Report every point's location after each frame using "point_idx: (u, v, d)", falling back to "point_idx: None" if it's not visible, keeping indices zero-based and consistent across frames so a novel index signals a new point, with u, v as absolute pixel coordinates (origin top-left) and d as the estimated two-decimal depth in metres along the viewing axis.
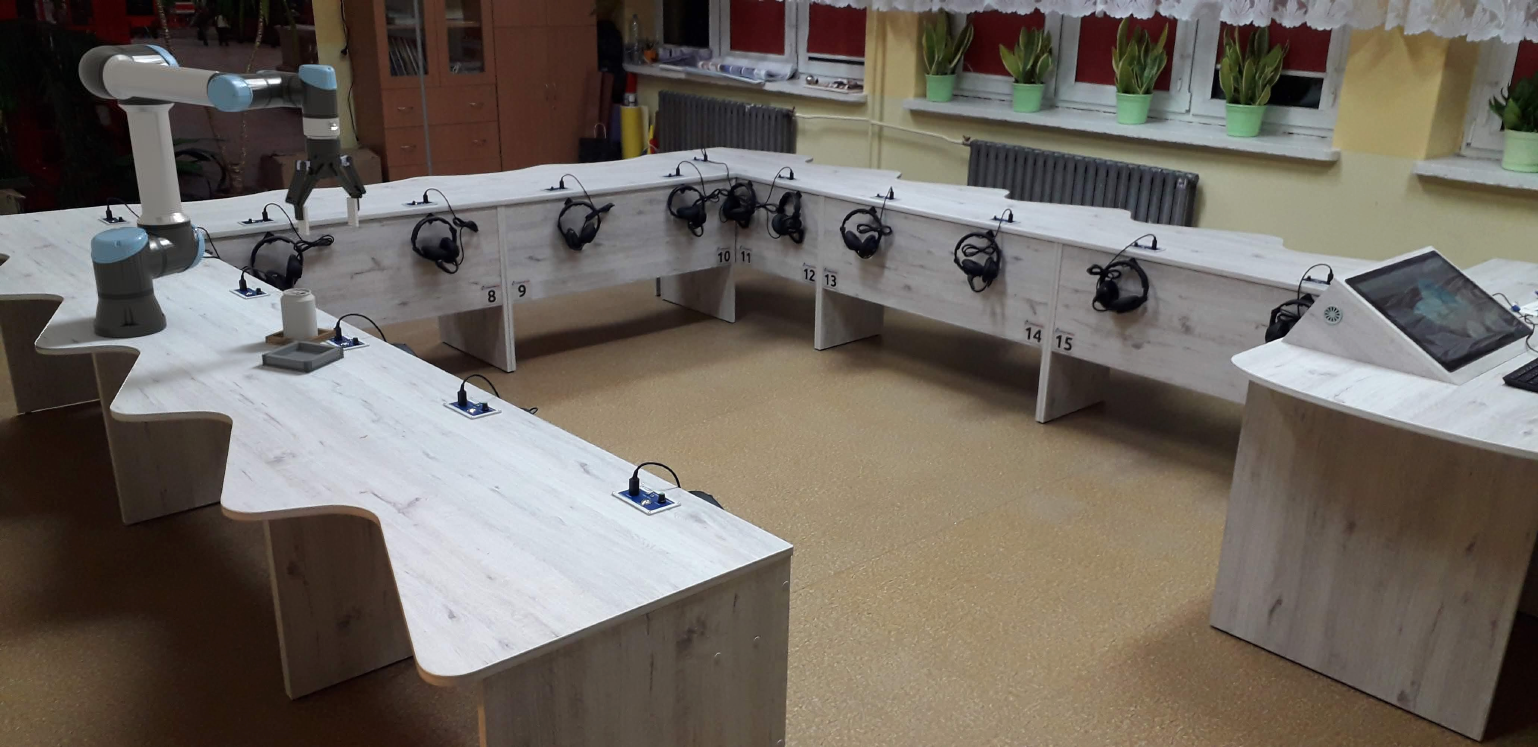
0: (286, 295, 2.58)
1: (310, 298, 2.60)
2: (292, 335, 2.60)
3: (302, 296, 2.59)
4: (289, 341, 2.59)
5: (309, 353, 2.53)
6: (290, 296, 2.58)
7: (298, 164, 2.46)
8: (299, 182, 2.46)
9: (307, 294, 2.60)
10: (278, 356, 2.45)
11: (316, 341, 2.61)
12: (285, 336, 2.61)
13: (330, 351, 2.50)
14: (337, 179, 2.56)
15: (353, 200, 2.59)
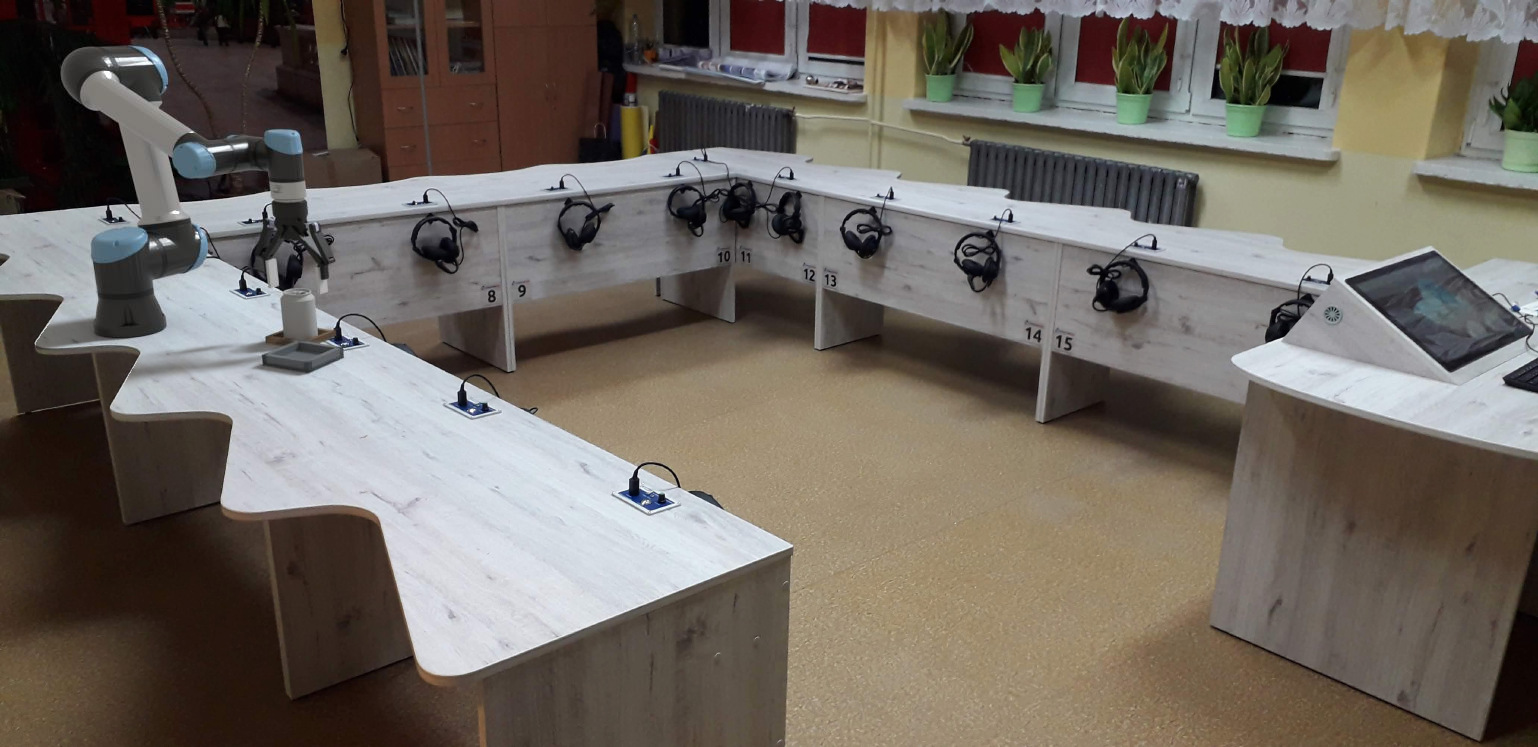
0: (286, 295, 2.58)
1: (310, 298, 2.60)
2: (292, 335, 2.60)
3: (302, 296, 2.59)
4: (289, 341, 2.59)
5: (309, 353, 2.53)
6: (290, 296, 2.58)
7: None
8: (260, 237, 2.58)
9: (307, 294, 2.60)
10: (278, 356, 2.45)
11: (316, 341, 2.61)
12: (285, 336, 2.61)
13: (330, 351, 2.50)
14: None
15: None
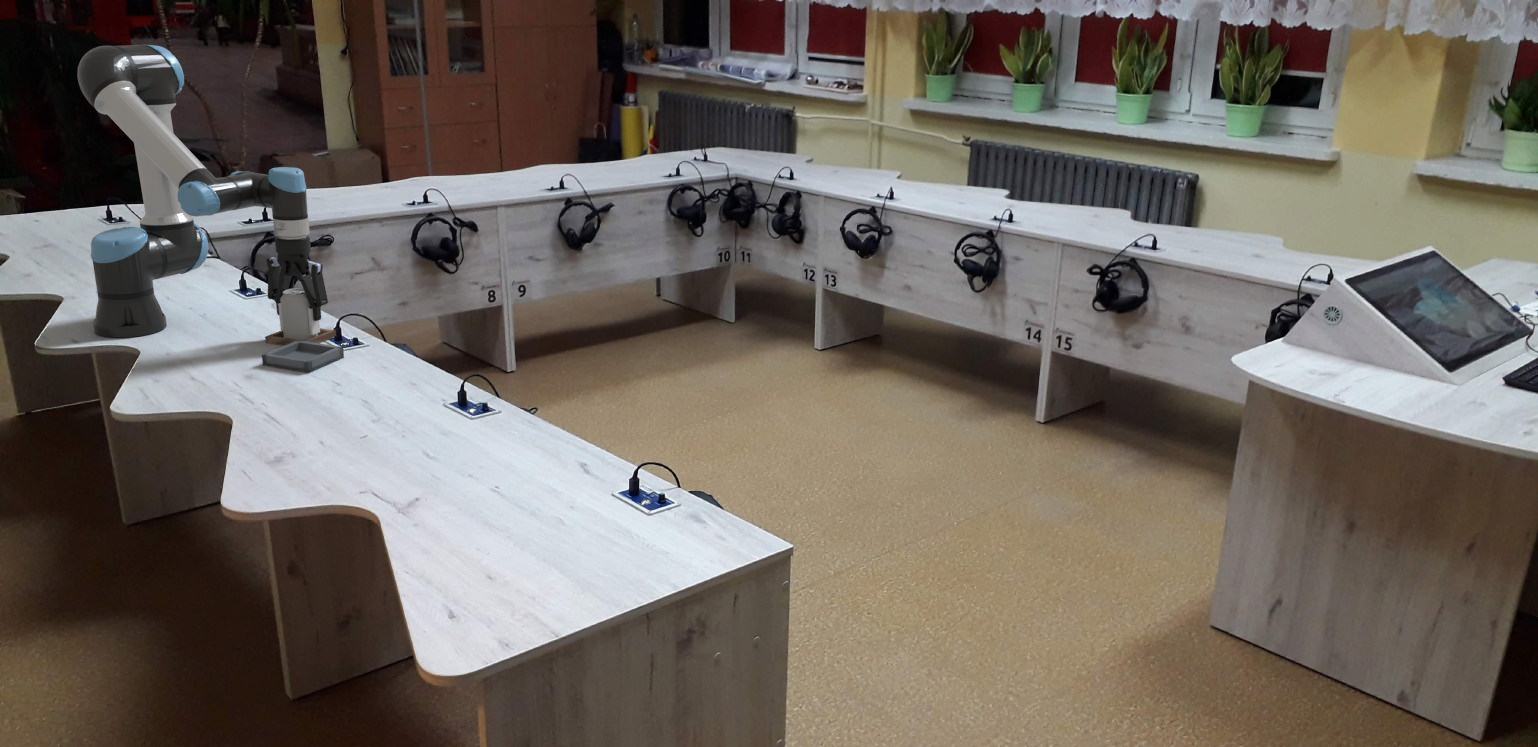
0: (286, 295, 2.58)
1: None
2: (292, 335, 2.60)
3: (302, 296, 2.59)
4: (289, 341, 2.59)
5: (309, 353, 2.53)
6: (290, 296, 2.58)
7: None
8: (269, 278, 2.60)
9: None
10: (278, 356, 2.45)
11: (316, 341, 2.61)
12: (285, 336, 2.61)
13: (330, 351, 2.50)
14: None
15: None
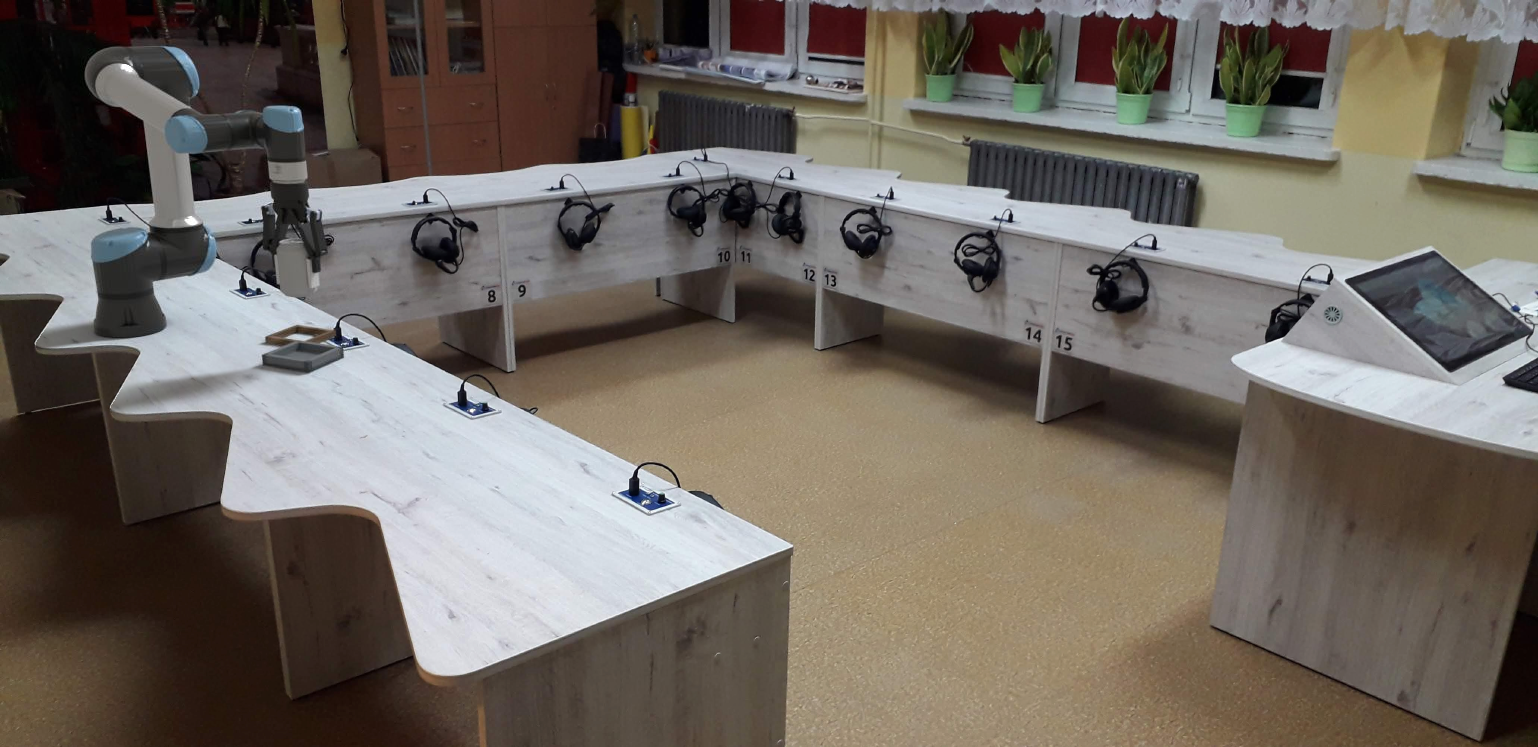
0: (283, 245, 2.40)
1: None
2: (290, 288, 2.42)
3: (300, 246, 2.40)
4: (289, 341, 2.59)
5: (309, 353, 2.53)
6: (287, 246, 2.39)
7: None
8: (264, 227, 2.42)
9: None
10: (278, 356, 2.45)
11: (316, 341, 2.61)
12: (282, 290, 2.43)
13: (330, 351, 2.50)
14: None
15: None
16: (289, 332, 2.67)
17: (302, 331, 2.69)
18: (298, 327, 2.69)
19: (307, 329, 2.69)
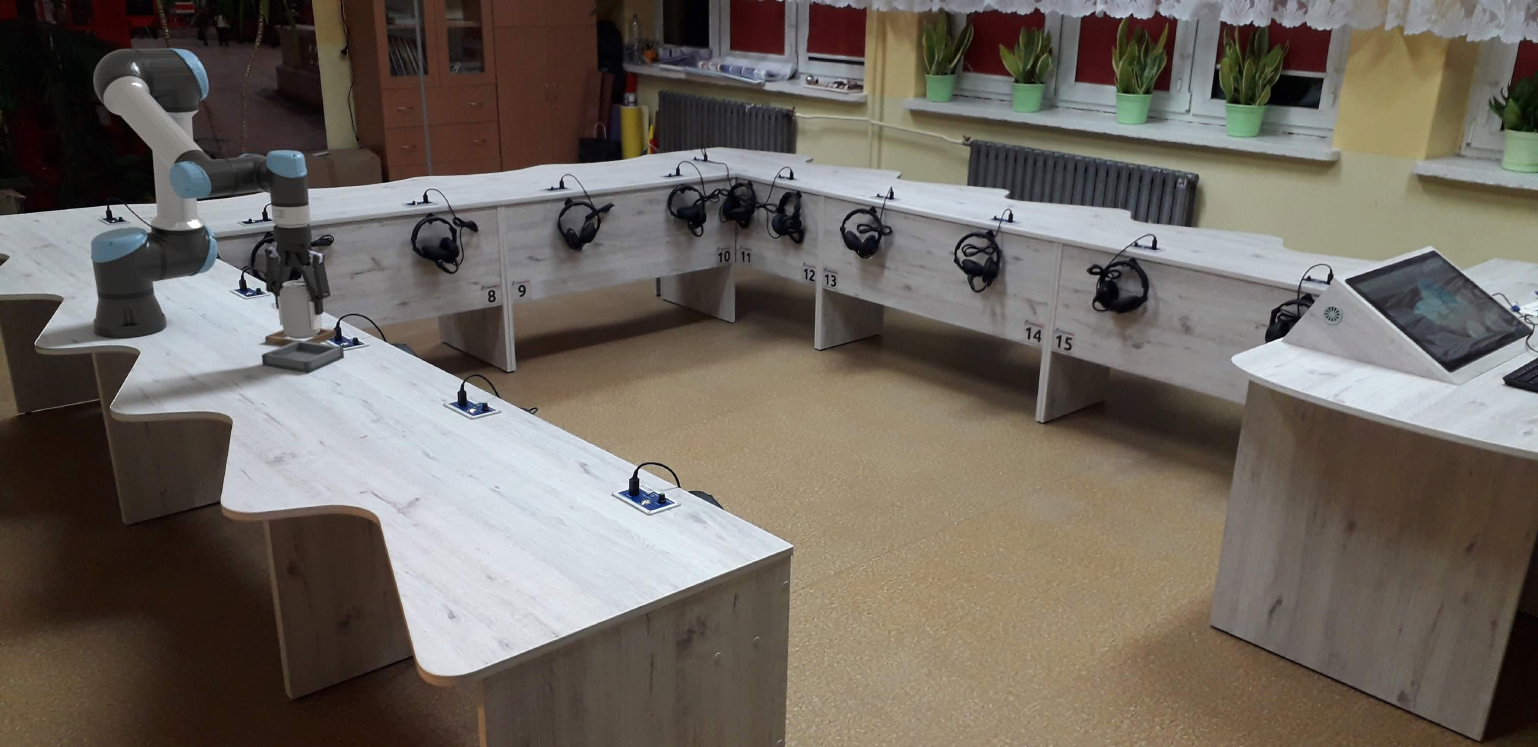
0: (286, 287, 2.42)
1: None
2: (292, 330, 2.44)
3: (303, 288, 2.42)
4: (289, 341, 2.59)
5: (309, 353, 2.53)
6: (290, 288, 2.41)
7: None
8: (267, 269, 2.44)
9: None
10: (278, 356, 2.45)
11: (316, 341, 2.61)
12: (285, 331, 2.45)
13: (330, 351, 2.50)
14: None
15: None
16: None
17: None
18: None
19: None
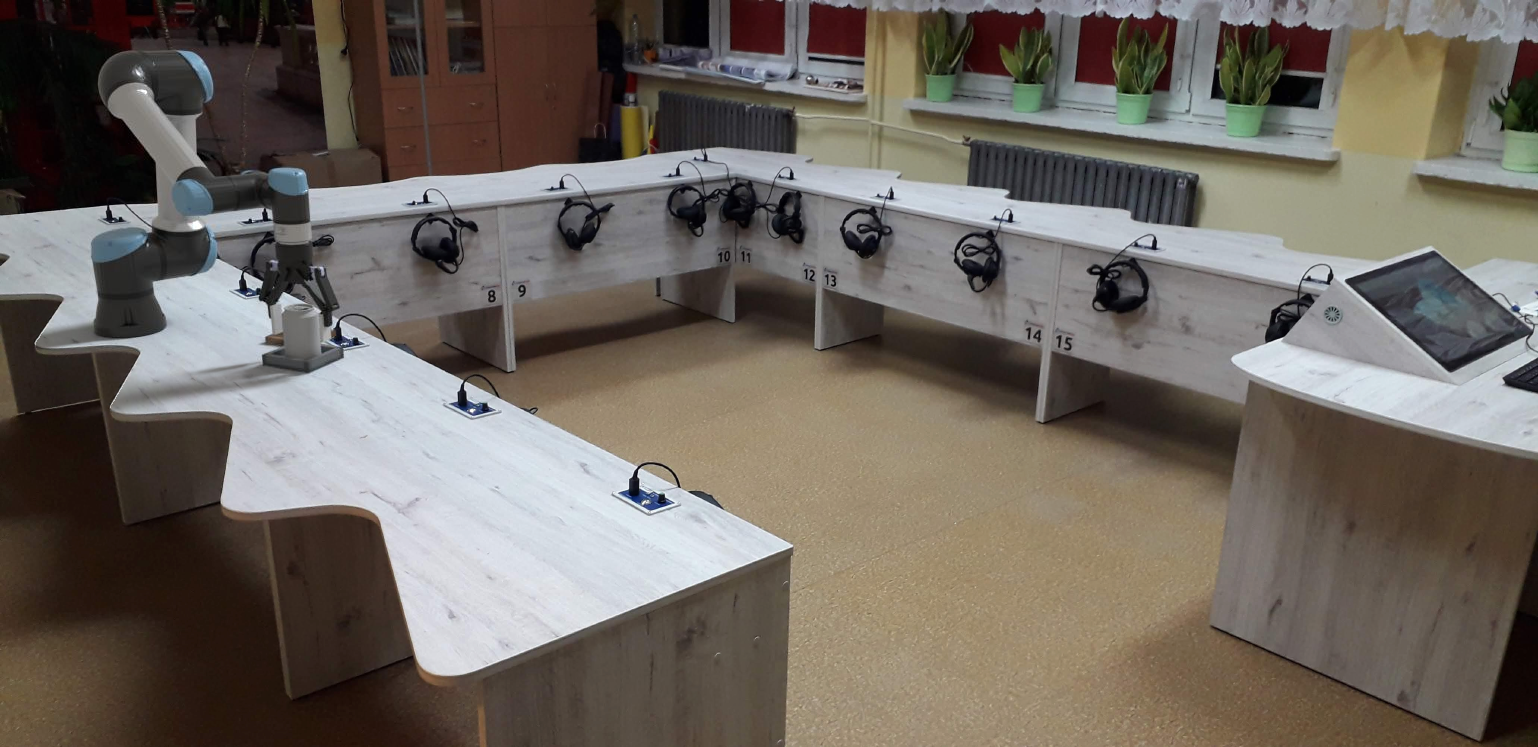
0: (288, 311, 2.43)
1: (313, 314, 2.45)
2: (294, 353, 2.45)
3: (305, 312, 2.44)
4: None
5: None
6: (292, 312, 2.43)
7: None
8: (264, 281, 2.45)
9: (310, 310, 2.45)
10: (278, 356, 2.45)
11: None
12: (286, 354, 2.47)
13: (330, 351, 2.50)
14: None
15: None
16: None
17: None
18: None
19: None
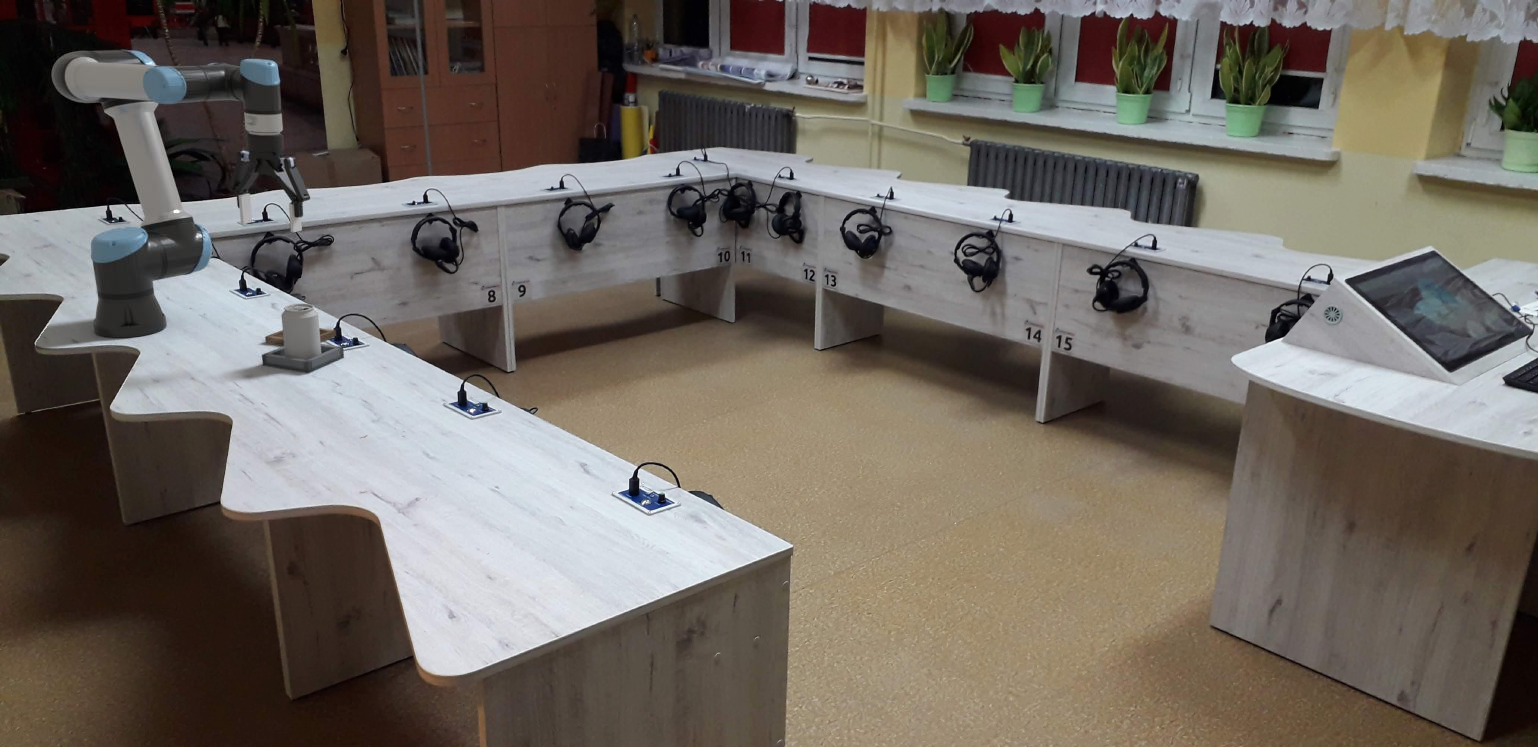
0: (288, 311, 2.43)
1: (313, 314, 2.45)
2: (294, 353, 2.45)
3: (304, 312, 2.44)
4: None
5: None
6: (292, 312, 2.43)
7: None
8: (234, 170, 2.50)
9: (310, 310, 2.45)
10: (278, 356, 2.45)
11: None
12: (286, 354, 2.47)
13: (330, 351, 2.50)
14: None
15: None
16: None
17: None
18: None
19: None
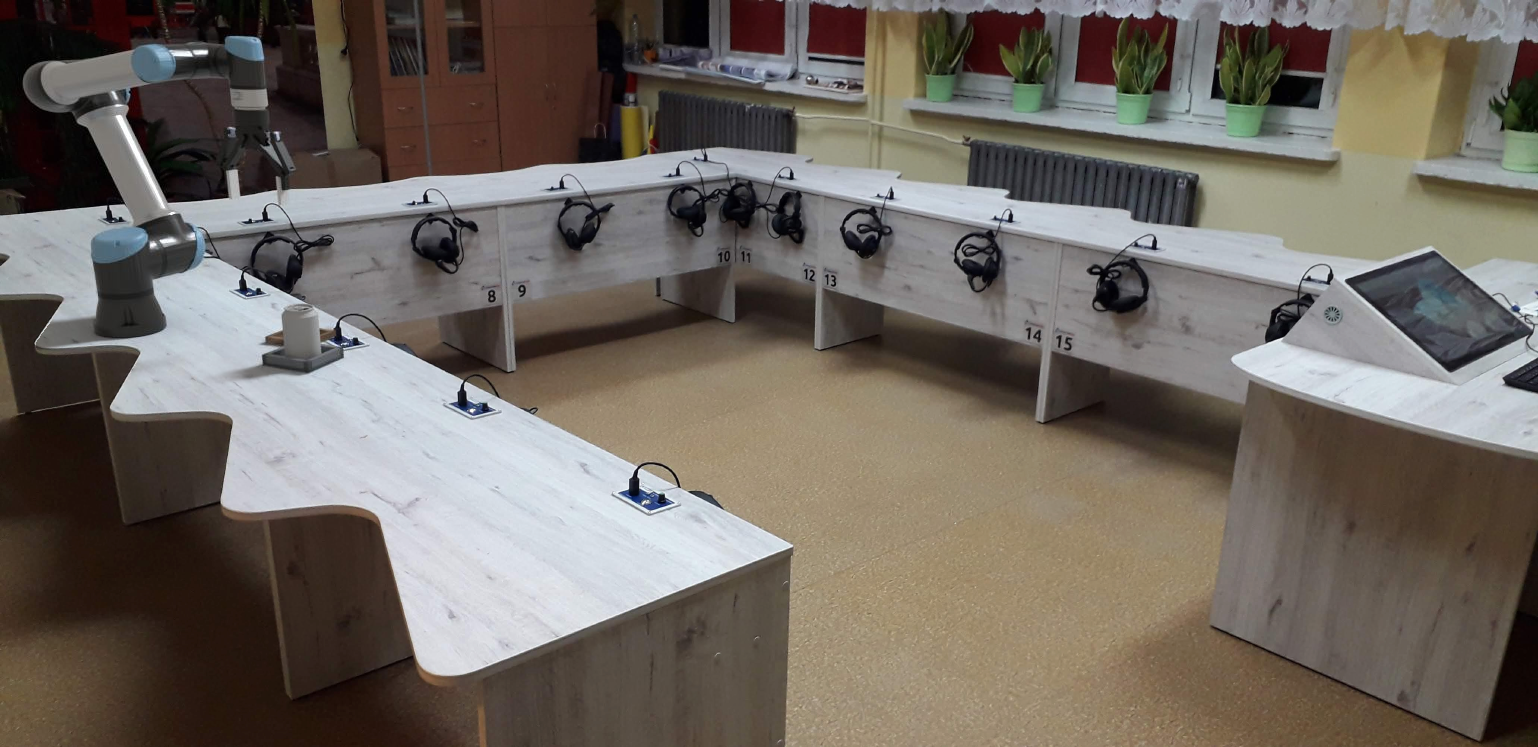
0: (288, 311, 2.43)
1: (313, 315, 2.45)
2: (294, 353, 2.45)
3: (305, 312, 2.44)
4: None
5: None
6: (292, 312, 2.43)
7: None
8: (221, 146, 2.56)
9: (310, 310, 2.45)
10: (278, 356, 2.45)
11: None
12: (286, 354, 2.47)
13: (330, 351, 2.50)
14: None
15: None
16: None
17: None
18: None
19: None
